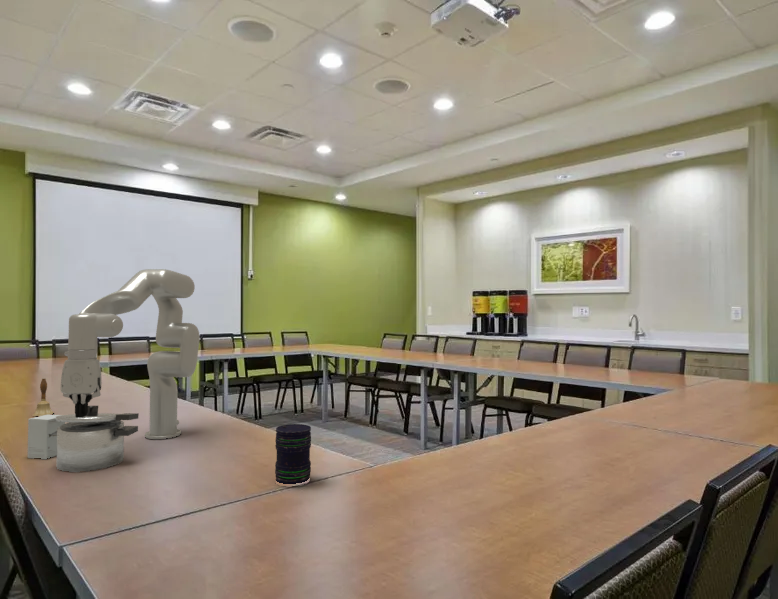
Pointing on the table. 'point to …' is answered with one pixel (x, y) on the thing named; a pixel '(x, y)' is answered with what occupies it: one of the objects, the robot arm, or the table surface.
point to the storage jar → (293, 453)
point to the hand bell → (43, 402)
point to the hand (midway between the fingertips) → (81, 416)
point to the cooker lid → (97, 416)
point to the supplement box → (43, 436)
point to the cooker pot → (91, 445)
